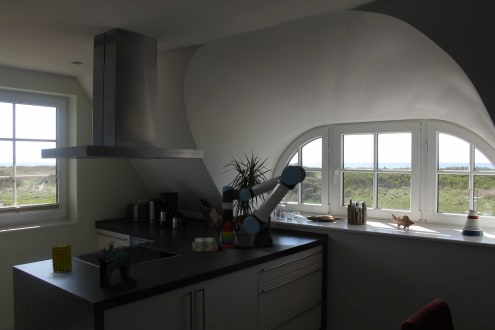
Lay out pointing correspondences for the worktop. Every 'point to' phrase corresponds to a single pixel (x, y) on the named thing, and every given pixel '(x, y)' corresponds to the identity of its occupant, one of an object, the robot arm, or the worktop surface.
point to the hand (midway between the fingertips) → (227, 241)
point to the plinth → (206, 248)
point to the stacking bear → (228, 236)
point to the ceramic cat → (113, 263)
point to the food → (61, 258)
